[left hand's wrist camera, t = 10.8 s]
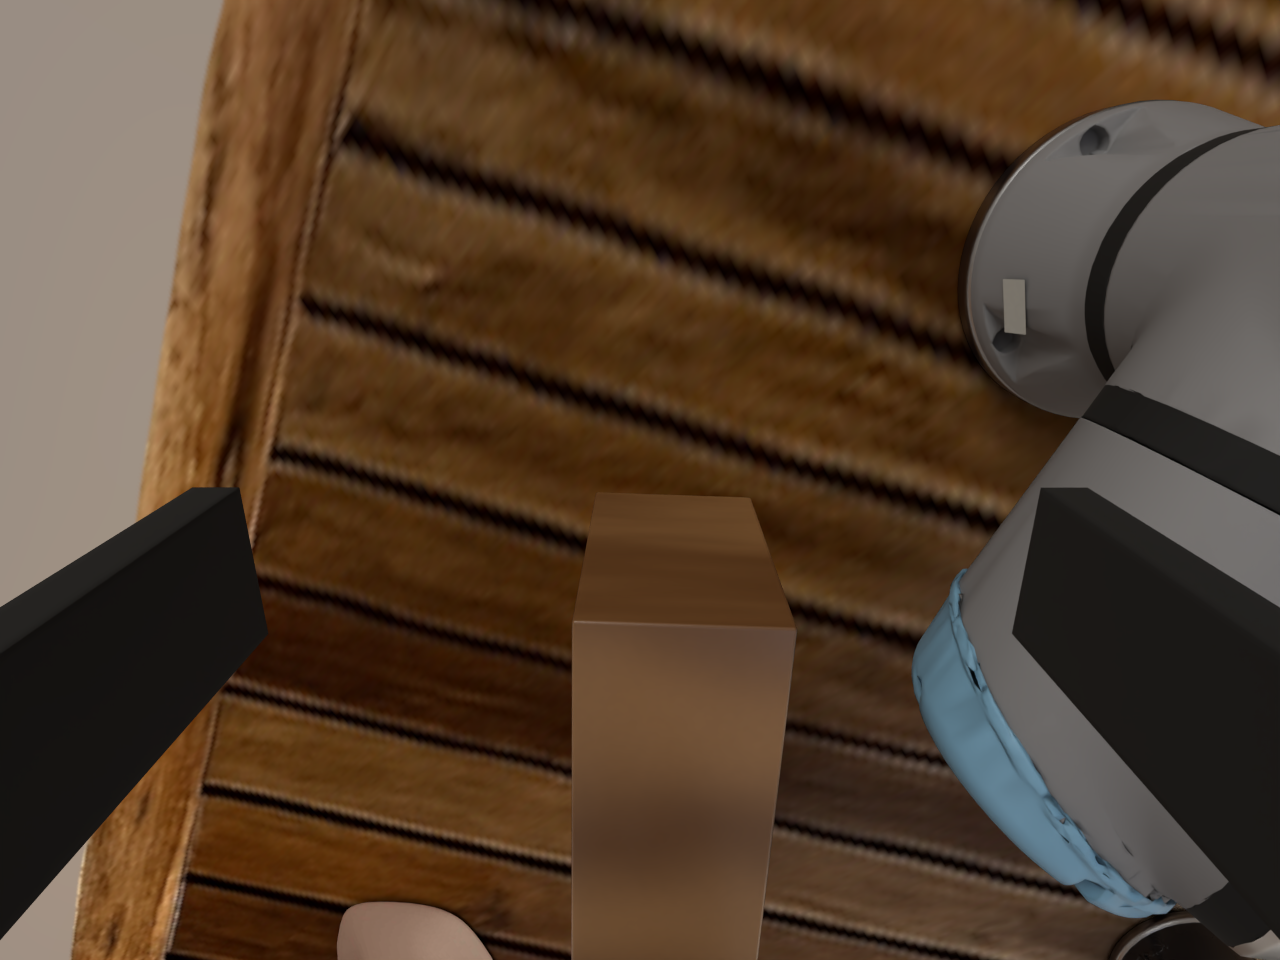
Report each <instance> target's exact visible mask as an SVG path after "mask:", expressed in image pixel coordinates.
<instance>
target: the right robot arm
mask: <svg viewBox="0 0 1280 960" xmlns="http://www.w3.org/2000/svg"><path fill="white" fill-rule="evenodd" d="M1109 960H1256V959H1255V958H1250V957H1243V956H1240V955H1239V954H1237V953H1236V952H1235V951H1233V950H1232V949H1231V948H1230V947H1228V946H1227V945H1226V944H1225V943H1223V942H1222V941H1221V940H1220V939H1219V938H1218V937H1217V936H1215V935H1214V934H1213V933H1212V932H1211V931H1210V930H1208V929H1207V928H1206V927H1205V926H1204V925H1203V924H1202V923H1200V922H1199V921H1198V920H1197V919H1196V918H1195V917H1194V916H1192V915H1191V914H1190V913H1189V912H1188V911H1180V912H1173V913H1168V914H1164V915H1160V916H1157V917H1154V918H1152V919H1149V920H1147V921H1145V922H1143V923H1141V924H1139V925H1138V926H1136V927H1135V928H1133V929H1132V930H1130V931H1129V932H1128V933H1127V934H1126V935H1124V936H1123V937H1122V939H1121V940H1120V941H1119V942H1118V943H1117V944H1116V946H1115V948H1114V949H1113V951H1112V953H1111V956H1110V958H1109Z"/></svg>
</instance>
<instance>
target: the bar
mask: <svg viewBox="0 0 1280 960" xmlns="http://www.w3.org/2000/svg"><path fill="white" fill-rule="evenodd" d="M796 636H797V628H796V625H795V622H794V619H793V617H792V614H791V611H790V608H789V605H788V603H787V600H786V597H785V594H784V591H783V588H782V586H781V583H780V580H779V577H778V574H777V572H776V569H775V566H774V563H773V560H772V557H771V555H770V552H769V549H768V546H767V543H766V541H765V538H764V535H763V532H762V529H761V527H760V524H759V521H758V518H757V515H756V512H755V510H754V507H753V504H752V501H751V498H743V497H714V496H685V495H655V494H626V493H596V496H595V501H594V507H593V512H592V518H591V523H590V528H589V534H588V539H587V545H586V550H585V555H584V561H583V566H582V571H581V577H580V582H579V588H578V593H577V598H576V604H575V609H574V615H573V620H572V960H758V952H759V944H760V936H761V927H762V919H763V911H764V902H765V894H766V886H767V877H768V869H769V861H770V852H771V844H772V836H773V827H774V819H775V811H776V802H777V794H778V786H779V778H780V769H781V761H782V753H783V744H784V736H785V728H786V719H787V711H788V703H789V694H790V686H791V678H792V669H793V661H794V653H795V644H796Z"/></svg>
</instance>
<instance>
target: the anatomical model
mask: <svg viewBox="0 0 1280 960" xmlns="http://www.w3.org/2000/svg"><path fill="white" fill-rule="evenodd" d="M337 954H338V960H493V959H492V957H491V956H490V954H489V953H488V951H487V950H486V948H485V947H484V945H483V944H482V942H481V941H480V940H479V938H478V937H477V936H476V934H475V933H474V932H473V931H472V930H471V929H470V927H468V926H467V925H466V924H465V923H464V922H463V921H462V920H461V919H459V918H458V917H456V916H455V915H453V914H451V913H449V912H447V911H444V910H442V909H439V908H435V907H431V906H426V905H421V904H414V903H403V902H366V903H361V904H357V905H354V906H352V907H350V908H349V909H348V910H347V911H346V912H345V914H344V916H343V918H342V921H341V924H340V929H339V935H338V941H337Z"/></svg>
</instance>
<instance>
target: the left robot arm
mask: <svg viewBox="0 0 1280 960" xmlns="http://www.w3.org/2000/svg"><path fill="white" fill-rule="evenodd" d="M958 304H959V312H960V318H961V322H962V326H963V330H964V333H965V336H966V338H967V341H968V343H969V346H970V348H971V350H972V352H973V354H974V355H975V357H976V359H977V360H978V362H979V363H980V365H981V366H982V367H983V368H984V370H985V371H986V372H987V373H988V375H989V376H990V377H991V378H992V379H993V380H994V381H995V382H997V383H998V384H999V385H1000V386H1001V387H1003V388H1004V389H1005V390H1007V391H1008V392H1010V393H1011V394H1013V395H1015V396H1016V397H1018V398H1020V399H1022V400H1024V401H1026V402H1028V403H1030V404H1032V405H1034V406H1036V407H1038V408H1041V409H1043V410H1046V411H1049V412H1052V413H1054V414H1059V415H1063V416H1067V417H1075V418H1080V419H1079V420H1078V421H1077V423H1076V424H1075V425H1074V427H1073V428H1072V429H1071V431H1070V432H1069V433H1068V435H1067V436H1066V438H1065V439H1064V440H1063V442H1062V443H1061V444H1060V446H1059V447H1058V448H1057V450H1056V451H1055V452H1054V454H1053V455H1052V456H1051V458H1050V459H1049V460H1048V462H1047V463H1046V465H1045V466H1044V467H1043V469H1042V470H1041V471H1040V473H1039V474H1038V475H1037V477H1036V478H1035V479H1034V481H1033V482H1032V483H1031V485H1030V486H1029V487H1028V489H1027V490H1026V492H1025V493H1024V494H1023V496H1022V497H1021V498H1020V500H1019V501H1018V502H1017V504H1016V505H1015V506H1014V508H1013V509H1012V510H1011V512H1010V513H1009V514H1008V516H1007V517H1006V519H1005V520H1004V521H1003V523H1002V524H1001V525H1000V527H999V528H998V529H997V531H996V532H995V533H994V535H993V536H992V537H991V539H990V540H989V541H988V543H987V544H986V546H985V547H984V548H983V550H982V551H981V552H980V554H979V555H978V556H977V558H976V559H975V560H974V562H973V563H972V564H971V566H970V567H969V568H968V569H963V570H961V571H960V572H959V573H958V574H957V575H956V577H955V579H954V580H953V582H952V584H951V588H950V595H949V596H948V598H947V599H946V601H945V602H944V604H943V605H942V607H941V609H940V610H939V612H938V613H937V615H936V616H935V618H934V619H933V621H932V622H931V624H930V625H929V627H928V629H927V630H926V632H925V633H924V635H923V636H922V638H921V639H920V641H919V643H918V645H917V647H916V650H915V653H914V657H913V662H912V681H913V686H914V693H915V696H916V698H917V700H918V703H919V707H920V712H921V715H922V718H923V721H924V723H925V725H926V727H927V729H928V731H929V733H930V735H931V737H932V739H933V741H934V743H935V744H936V746H937V748H938V750H939V751H940V753H941V754H942V756H943V758H944V759H945V761H946V762H947V764H948V765H949V767H950V768H951V770H952V771H953V773H954V774H955V775H956V777H957V778H958V780H959V781H960V782H961V784H962V785H963V786H964V787H965V789H966V790H967V791H968V793H969V794H970V795H971V796H972V798H973V799H974V800H975V801H976V802H977V804H978V805H979V806H980V807H981V808H982V809H983V811H984V812H985V813H986V814H987V815H988V816H989V818H990V819H991V820H992V821H993V822H994V823H995V824H996V825H997V826H998V827H999V828H1000V829H1001V831H1002V832H1003V833H1004V834H1005V835H1006V836H1007V837H1008V838H1009V839H1010V840H1011V841H1012V842H1013V843H1014V844H1015V845H1016V846H1017V847H1018V848H1019V849H1020V850H1021V851H1022V852H1024V853H1025V854H1026V855H1027V856H1028V857H1029V858H1030V859H1031V860H1032V861H1034V862H1035V863H1036V864H1037V865H1038V866H1039V867H1041V868H1042V869H1043V870H1044V871H1046V872H1047V873H1048V874H1049V875H1051V876H1052V877H1053V878H1055V879H1056V880H1057V881H1059V882H1060V883H1062V884H1064V885H1073V884H1074V885H1075V887H1076V888H1077V889H1078V890H1079V892H1080V893H1081V894H1082V895H1083V896H1084V898H1085V899H1086V900H1087V901H1088V902H1090V903H1092V904H1094V905H1095V906H1097V907H1099V908H1101V909H1103V910H1106V911H1108V912H1110V913H1112V914H1115V915H1119V916H1122V917H1128V918H1143V917H1148V916H1150V915H1152V914H1166V913H1167V912H1169V911H1170V910H1171V909H1172V908H1173V907H1174V906H1175V905H1176V903H1178V904H1179V905H1181V906H1182V907H1183V908H1184V909H1186V910H1187V911H1188V912H1189V913H1190V914H1191V915H1192V916H1194V917H1195V918H1196V919H1197V920H1198V921H1199V922H1200V923H1202V924H1203V925H1204V926H1205V927H1206V928H1207V929H1208V930H1210V931H1211V932H1212V933H1213V934H1214V935H1215V936H1217V937H1218V938H1219V939H1220V940H1221V941H1222V942H1223V943H1225V944H1226V945H1227V946H1228V947H1230V948H1231V949H1232V950H1233V951H1235V952H1236V953H1237V954H1239V955H1240V956H1243V957H1250V958H1257V959H1265V960H1280V125H1278V126H1272V127H1263V126H1261V125H1258V124H1255V123H1253V122H1250V121H1247V120H1245V119H1242V118H1239V117H1237V116H1234V115H1231V114H1229V113H1226V112H1223V111H1221V110H1218V109H1215V108H1213V107H1209V106H1206V105H1202V104H1197V103H1191V102H1182V101H1174V100H1149V101H1139V102H1133V103H1128V104H1123V105H1118V106H1114V107H1109V108H1105V109H1101V110H1098V111H1094V112H1091V113H1088V114H1086V115H1083V116H1081V117H1078V118H1076V119H1073V120H1071V121H1069V122H1067V123H1065V124H1063V125H1061V126H1059V127H1058V128H1056V129H1055V130H1053V131H1051V132H1050V133H1048V134H1047V135H1045V136H1044V137H1042V138H1041V139H1040V140H1038V141H1037V142H1036V143H1034V144H1033V145H1032V146H1030V147H1029V148H1028V149H1027V150H1026V151H1025V152H1024V153H1022V154H1021V155H1020V156H1019V157H1018V158H1017V159H1016V160H1015V161H1014V162H1013V163H1012V164H1011V165H1010V166H1009V167H1008V168H1007V169H1006V171H1005V172H1004V173H1003V174H1002V176H1001V177H1000V178H999V179H998V181H997V182H996V183H995V184H994V186H993V187H992V189H991V190H990V192H989V193H988V195H987V196H986V198H985V199H984V201H983V203H982V205H981V207H980V208H979V210H978V212H977V214H976V216H975V219H974V221H973V223H972V225H971V227H970V230H969V233H968V236H967V239H966V241H965V245H964V249H963V253H962V257H961V262H960V268H959V277H958ZM267 634H268V630H267V625H266V620H265V615H264V610H263V605H262V600H261V595H260V590H259V585H258V580H257V575H256V570H255V564H254V559H253V554H252V549H251V544H250V539H249V534H248V529H247V524H246V519H245V514H244V509H243V504H242V499H241V494H240V489H239V488H191V489H189V490H188V491H186V492H184V493H183V494H181V495H180V496H178V497H176V498H175V499H173V500H172V501H170V502H168V503H167V504H165V505H164V506H162V507H160V508H159V509H157V510H156V511H154V512H152V513H151V514H149V515H148V516H146V517H144V518H143V519H141V520H140V521H138V522H136V523H135V524H133V525H132V526H130V527H128V528H127V529H125V530H124V531H122V532H120V533H119V534H117V535H115V536H114V537H112V538H111V539H109V540H107V541H106V542H104V543H103V544H101V545H99V546H98V547H96V548H95V549H93V550H92V551H90V552H88V553H87V554H85V555H83V556H82V557H80V558H79V559H77V560H75V561H74V562H72V563H71V564H69V565H67V566H66V567H64V568H63V569H61V570H59V571H58V572H56V573H55V574H53V575H51V576H50V577H48V578H46V579H45V580H43V581H42V582H40V583H39V584H37V585H35V586H34V587H32V588H30V589H29V590H27V591H26V592H24V593H22V594H21V595H19V596H18V597H16V598H14V599H13V600H11V601H10V602H8V603H6V604H5V605H3V606H2V607H0V940H1V939H2V937H3V936H4V935H5V934H6V933H7V932H8V931H9V929H10V928H11V927H12V926H13V925H14V924H15V923H16V921H17V920H18V919H19V918H20V917H21V916H22V915H23V913H24V912H25V911H26V910H27V909H28V908H29V907H30V905H31V904H32V903H33V902H34V901H35V900H36V899H37V897H38V896H39V895H40V894H41V893H42V892H43V891H44V889H45V888H46V887H47V886H48V885H49V884H50V883H51V881H52V880H53V879H54V878H55V877H56V876H57V875H58V873H59V872H60V871H61V870H62V869H63V868H64V866H65V865H66V864H67V863H68V862H69V861H70V860H71V858H72V857H73V856H74V855H75V854H76V853H77V852H78V851H79V849H80V848H81V847H82V846H83V845H84V844H85V843H86V841H87V840H88V839H89V838H90V837H91V836H92V835H93V833H94V832H95V831H96V830H97V829H98V828H99V827H100V825H101V824H102V823H103V822H104V821H105V820H106V819H107V817H108V816H109V815H110V814H111V813H112V812H113V811H114V809H115V808H116V807H117V806H118V805H119V804H120V803H121V801H122V800H123V799H124V798H125V797H126V796H127V795H128V793H129V792H130V791H131V790H132V789H133V788H134V787H135V785H136V784H137V783H138V782H139V781H140V780H141V779H142V777H143V776H144V775H145V774H146V773H147V772H148V771H149V769H150V768H151V767H152V766H153V765H154V764H155V763H156V761H157V760H158V759H159V758H160V757H161V756H162V755H163V753H164V752H165V751H166V750H167V749H168V748H169V747H170V745H171V744H172V743H173V742H174V741H175V740H176V739H177V737H178V736H179V735H180V734H181V733H182V732H183V731H184V729H185V728H186V727H187V726H188V725H189V724H190V723H191V721H192V720H193V719H194V718H195V717H196V716H197V715H198V713H199V712H200V711H201V710H202V709H203V708H204V707H205V705H206V704H207V703H208V702H209V701H210V700H211V699H212V697H213V696H214V695H215V694H216V693H217V692H218V691H219V689H220V688H221V687H222V686H223V685H224V684H225V683H226V681H227V680H228V679H229V678H230V677H231V676H232V674H233V673H234V672H235V671H236V670H237V669H238V668H239V666H240V665H241V664H242V663H243V662H244V661H245V660H246V658H247V657H248V656H249V655H250V654H251V653H252V652H253V650H254V649H255V648H256V647H257V646H258V645H259V644H260V642H261V641H262V640H263V639H264V638H265V637H266V636H267Z"/></svg>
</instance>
